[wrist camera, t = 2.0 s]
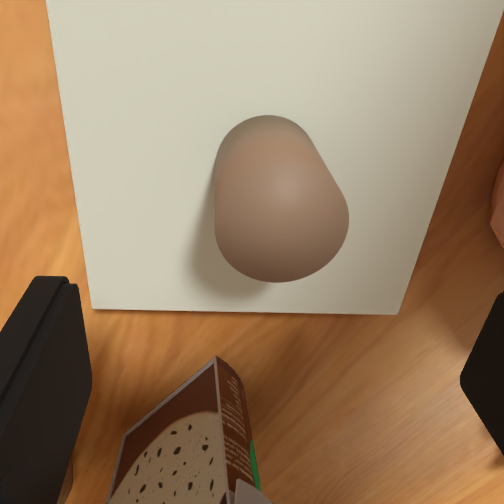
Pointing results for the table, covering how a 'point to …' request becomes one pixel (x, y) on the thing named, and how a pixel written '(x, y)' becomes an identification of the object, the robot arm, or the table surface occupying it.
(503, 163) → the bowl
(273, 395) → the table surface
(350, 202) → the lid
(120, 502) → the food container
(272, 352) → the table surface
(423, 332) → the table surface
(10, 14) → the table surface
